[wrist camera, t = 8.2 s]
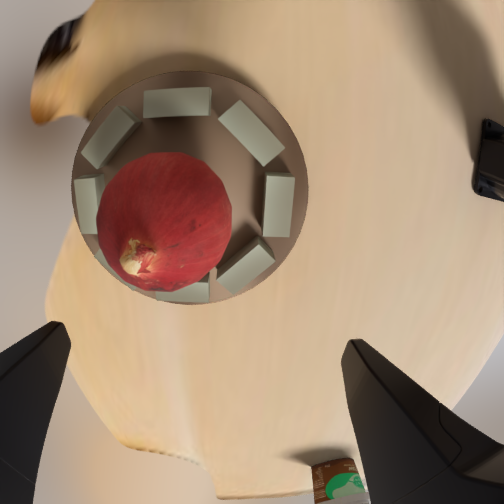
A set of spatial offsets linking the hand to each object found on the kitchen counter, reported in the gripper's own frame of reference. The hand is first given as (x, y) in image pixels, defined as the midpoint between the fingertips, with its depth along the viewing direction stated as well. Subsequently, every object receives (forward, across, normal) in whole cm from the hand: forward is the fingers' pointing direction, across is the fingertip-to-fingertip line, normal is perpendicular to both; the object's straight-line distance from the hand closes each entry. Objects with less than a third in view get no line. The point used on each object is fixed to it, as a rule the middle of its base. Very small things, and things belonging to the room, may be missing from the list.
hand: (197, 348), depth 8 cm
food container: (+11, -21, +43) cm, 49 cm away
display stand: (+11, +2, -2) cm, 11 cm away
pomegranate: (+9, +2, -2) cm, 10 cm away
